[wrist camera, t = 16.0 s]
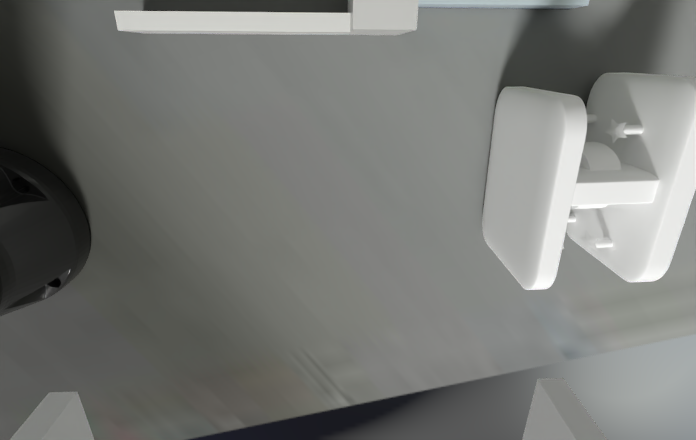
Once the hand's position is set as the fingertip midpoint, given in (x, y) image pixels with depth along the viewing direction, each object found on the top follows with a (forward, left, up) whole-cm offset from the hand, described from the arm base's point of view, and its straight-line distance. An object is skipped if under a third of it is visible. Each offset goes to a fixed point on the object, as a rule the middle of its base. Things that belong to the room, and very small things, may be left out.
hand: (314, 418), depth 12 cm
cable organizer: (+20, +1, -27) cm, 34 cm away
